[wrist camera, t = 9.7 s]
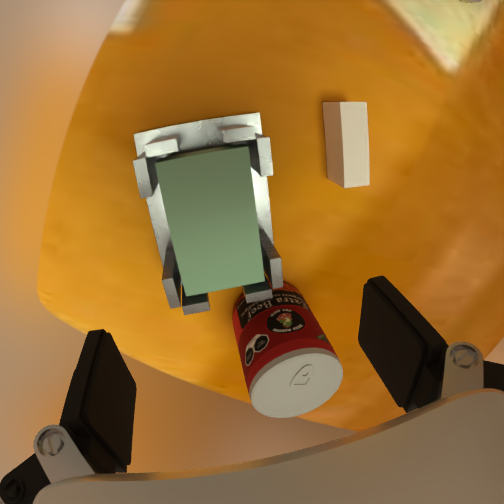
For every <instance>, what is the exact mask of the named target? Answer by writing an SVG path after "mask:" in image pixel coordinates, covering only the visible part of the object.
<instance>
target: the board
mask: <svg viewBox="0 0 504 504" xmlns="http://www.w3.org/2000/svg"><path fill="white" fill-rule="evenodd" d="M155 166H156V171H157V176H158V181H159V186H160V191H161V195H162V200H163V204H164V209H165V213H166V218H167V222H168V227H169V231H170V235H171V239H172V243H173V248H174V252H175V256H176V260H177V264H178V267H179V271H180V275H181V279H182V283H183V286H184V290H185V294H186V296H191V295H197V294H202V293H207V292H213V291H218V290H223V289H228V288H233V287H238V286H243V285H248V284H253V283H258V282H263V281H265V278H264V270H263V261H262V253H261V245H260V236H259V228H258V220H257V212H256V204H255V195H254V187H253V179H252V171H251V164H250V156H249V148H248V146H247V145H245V144H237V145H230V146H224V147H218V148H212V149H206V150H200V151H195V152H189V153H184V154H179V155H174V156H169V157H164V158H160V159H158V160H157V161H156V163H155Z"/></svg>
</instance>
